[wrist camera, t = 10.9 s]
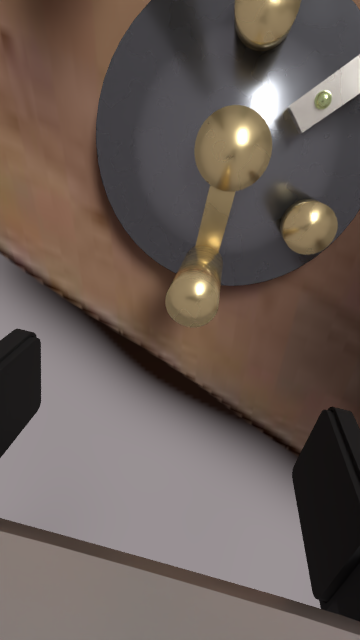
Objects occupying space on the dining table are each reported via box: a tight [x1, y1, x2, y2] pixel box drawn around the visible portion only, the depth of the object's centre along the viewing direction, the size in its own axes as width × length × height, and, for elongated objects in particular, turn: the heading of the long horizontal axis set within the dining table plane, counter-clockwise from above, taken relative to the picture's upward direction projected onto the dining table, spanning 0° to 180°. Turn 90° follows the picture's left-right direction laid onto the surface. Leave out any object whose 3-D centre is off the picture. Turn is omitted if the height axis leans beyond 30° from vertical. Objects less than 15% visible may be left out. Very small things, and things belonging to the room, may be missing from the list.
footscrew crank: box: [165, 105, 272, 327], centre depth 21 cm, size 12×5×9 cm, turn 168°
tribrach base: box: [96, 0, 360, 286], centre depth 23 cm, size 20×20×4 cm
